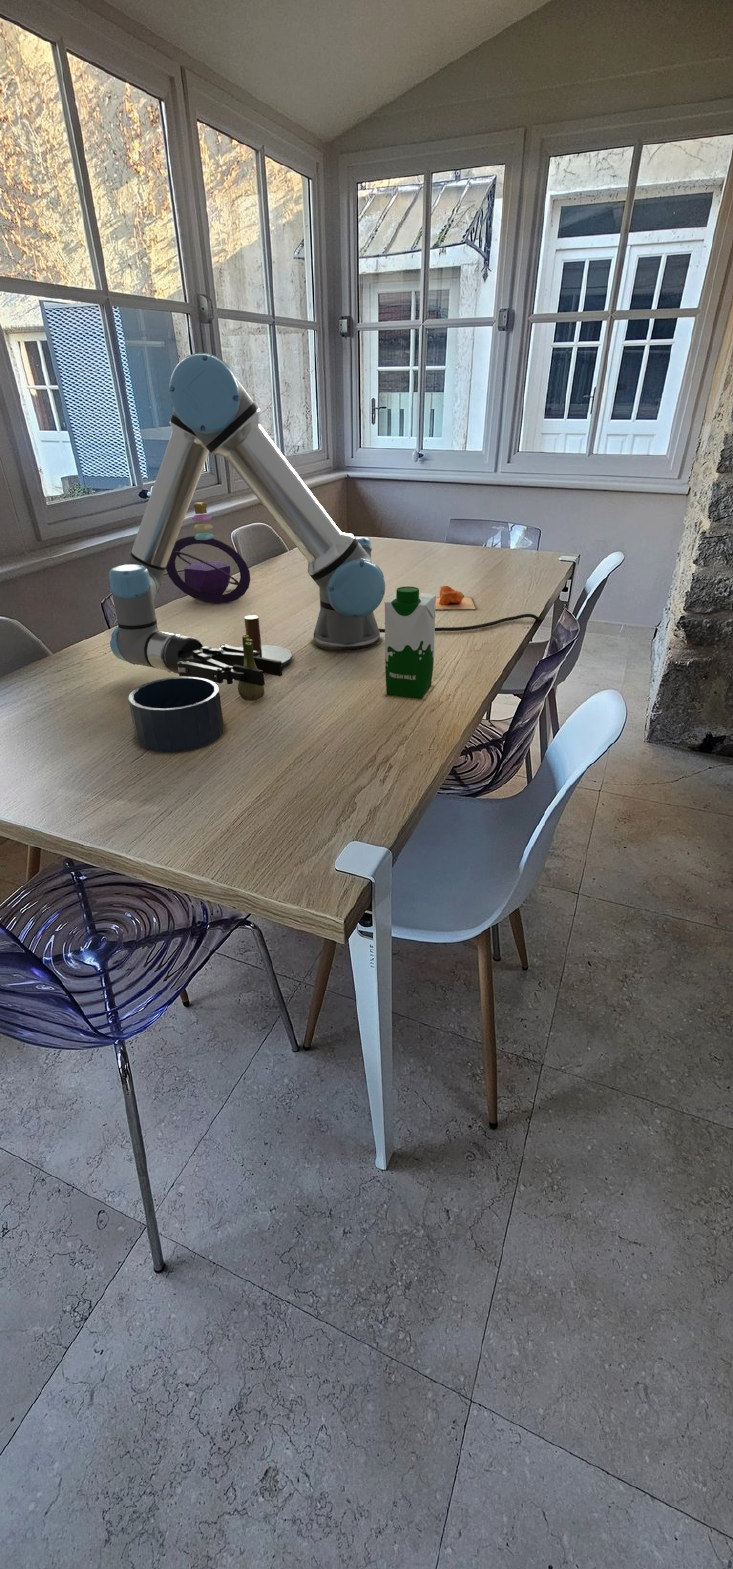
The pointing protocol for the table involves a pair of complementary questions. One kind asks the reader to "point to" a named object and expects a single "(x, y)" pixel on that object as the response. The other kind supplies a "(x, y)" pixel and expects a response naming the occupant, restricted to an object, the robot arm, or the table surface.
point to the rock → (452, 600)
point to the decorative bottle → (208, 567)
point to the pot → (176, 714)
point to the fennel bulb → (247, 689)
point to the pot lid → (264, 650)
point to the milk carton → (409, 642)
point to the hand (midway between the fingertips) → (271, 673)
